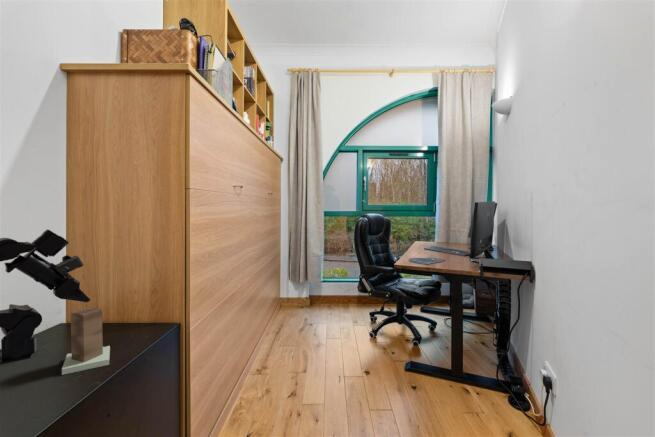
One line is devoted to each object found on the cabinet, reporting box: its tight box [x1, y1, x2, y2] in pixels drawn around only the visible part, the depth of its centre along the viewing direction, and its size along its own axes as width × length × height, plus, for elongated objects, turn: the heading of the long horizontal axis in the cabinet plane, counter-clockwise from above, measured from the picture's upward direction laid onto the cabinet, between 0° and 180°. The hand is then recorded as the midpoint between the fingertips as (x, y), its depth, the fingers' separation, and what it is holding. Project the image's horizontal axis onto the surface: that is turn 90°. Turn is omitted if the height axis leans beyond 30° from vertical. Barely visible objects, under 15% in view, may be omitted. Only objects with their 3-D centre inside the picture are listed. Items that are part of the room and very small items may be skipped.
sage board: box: [61, 345, 111, 376], centre depth 88 cm, size 10×10×2 cm
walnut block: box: [70, 306, 104, 362], centre depth 88 cm, size 5×5×13 cm
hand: (85, 298), depth 103 cm, fingers open, 9 cm apart
